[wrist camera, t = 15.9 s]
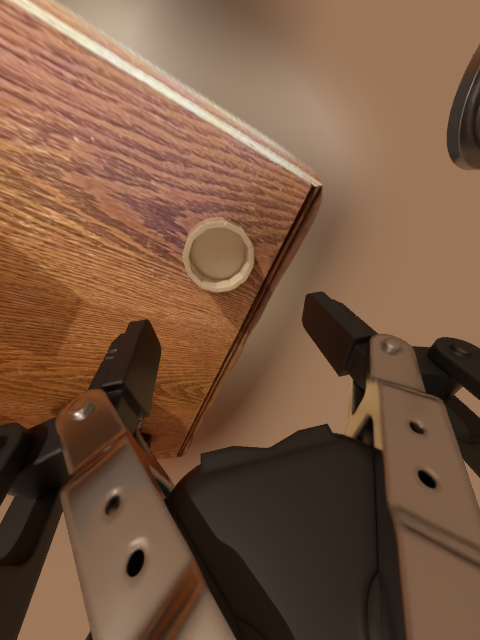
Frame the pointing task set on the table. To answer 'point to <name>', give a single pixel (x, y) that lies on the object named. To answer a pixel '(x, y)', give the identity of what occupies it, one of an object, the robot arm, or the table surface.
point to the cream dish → (218, 254)
